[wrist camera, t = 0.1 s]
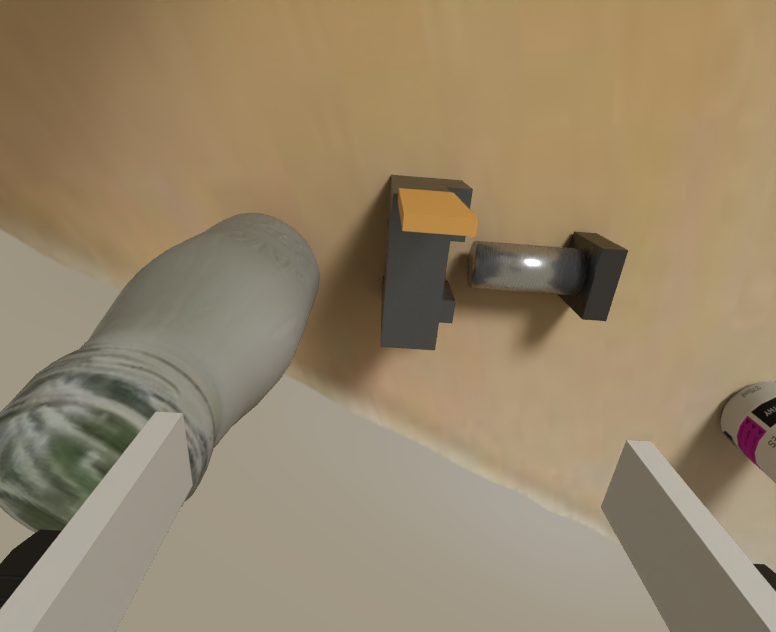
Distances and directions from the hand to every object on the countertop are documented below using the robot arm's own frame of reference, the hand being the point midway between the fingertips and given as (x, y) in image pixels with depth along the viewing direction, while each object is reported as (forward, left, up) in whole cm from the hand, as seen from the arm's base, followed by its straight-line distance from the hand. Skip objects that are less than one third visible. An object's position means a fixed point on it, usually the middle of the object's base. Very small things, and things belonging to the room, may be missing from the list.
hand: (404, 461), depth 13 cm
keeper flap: (-5, +2, -14) cm, 14 cm away
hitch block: (0, +3, -28) cm, 28 cm away
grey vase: (+3, -11, -28) cm, 30 cm away
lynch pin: (+1, +13, -28) cm, 31 cm away
